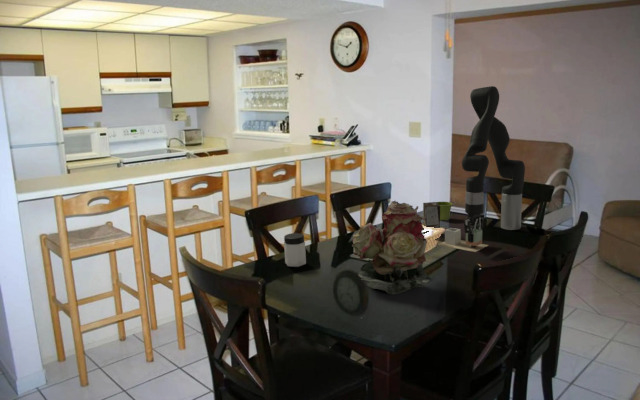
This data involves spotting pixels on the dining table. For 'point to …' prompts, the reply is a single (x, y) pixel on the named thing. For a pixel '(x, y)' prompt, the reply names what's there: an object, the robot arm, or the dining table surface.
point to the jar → (294, 250)
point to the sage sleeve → (475, 237)
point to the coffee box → (431, 214)
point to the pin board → (465, 246)
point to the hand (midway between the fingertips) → (473, 240)
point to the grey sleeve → (452, 236)
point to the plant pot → (444, 210)
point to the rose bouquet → (393, 250)
